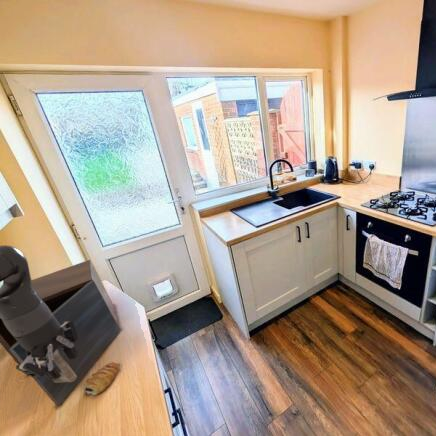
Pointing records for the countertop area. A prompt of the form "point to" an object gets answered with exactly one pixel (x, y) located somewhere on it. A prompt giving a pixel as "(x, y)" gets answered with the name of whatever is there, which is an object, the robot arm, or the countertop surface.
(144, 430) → the countertop surface
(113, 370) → the pastry
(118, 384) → the countertop surface
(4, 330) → the cupboard
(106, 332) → the door
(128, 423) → the countertop surface
